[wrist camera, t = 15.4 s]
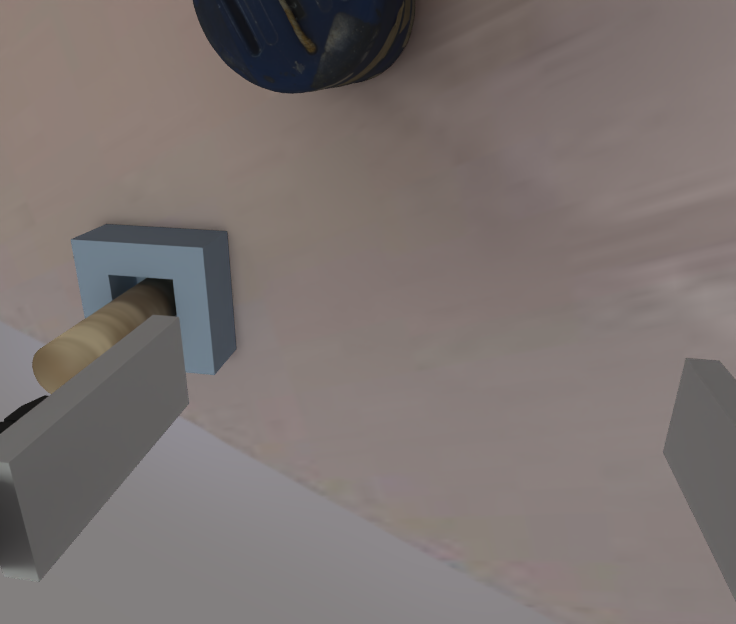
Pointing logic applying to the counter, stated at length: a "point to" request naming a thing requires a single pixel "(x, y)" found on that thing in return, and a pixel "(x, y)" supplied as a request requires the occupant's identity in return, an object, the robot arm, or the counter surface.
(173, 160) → the counter surface
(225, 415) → the counter surface
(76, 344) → the dowel
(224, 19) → the canister
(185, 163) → the counter surface
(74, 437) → the robot arm
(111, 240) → the socket block
